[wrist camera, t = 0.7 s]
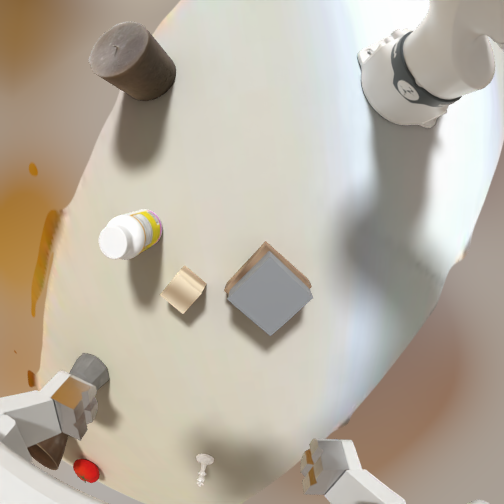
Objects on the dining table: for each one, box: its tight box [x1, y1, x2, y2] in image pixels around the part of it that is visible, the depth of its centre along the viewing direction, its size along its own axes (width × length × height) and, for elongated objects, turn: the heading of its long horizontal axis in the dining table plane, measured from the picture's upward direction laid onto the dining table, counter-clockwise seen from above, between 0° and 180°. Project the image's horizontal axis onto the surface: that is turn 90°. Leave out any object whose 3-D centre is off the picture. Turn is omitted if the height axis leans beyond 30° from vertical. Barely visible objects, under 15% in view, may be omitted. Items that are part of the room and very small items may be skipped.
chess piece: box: [196, 454, 214, 487], centre depth 58 cm, size 5×5×10 cm
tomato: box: [73, 459, 99, 483], centre depth 65 cm, size 9×10×8 cm
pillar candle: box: [89, 22, 176, 101], centre depth 35 cm, size 10×10×15 cm
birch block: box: [160, 266, 206, 314], centre depth 48 cm, size 5×5×5 cm
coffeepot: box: [69, 353, 109, 390], centre depth 48 cm, size 15×9×18 cm, turn 108°
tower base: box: [224, 241, 312, 295], centre depth 48 cm, size 10×10×4 cm
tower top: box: [227, 251, 313, 336], centre depth 45 cm, size 9×9×4 cm
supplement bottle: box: [99, 209, 162, 260], centre depth 42 cm, size 7×7×13 cm
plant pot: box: [27, 432, 68, 470], centre depth 56 cm, size 15×15×16 cm
